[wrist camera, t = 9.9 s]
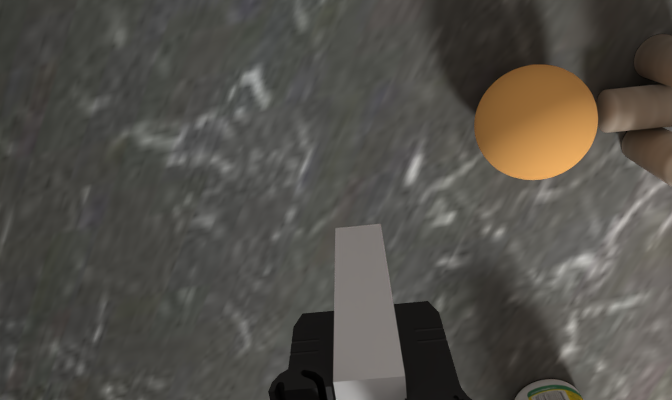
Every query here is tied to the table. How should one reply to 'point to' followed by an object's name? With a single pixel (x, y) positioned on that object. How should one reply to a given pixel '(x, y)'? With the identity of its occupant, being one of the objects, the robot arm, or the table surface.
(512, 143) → the ball
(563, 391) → the supplement bottle
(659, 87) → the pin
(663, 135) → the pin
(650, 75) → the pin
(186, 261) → the table surface
